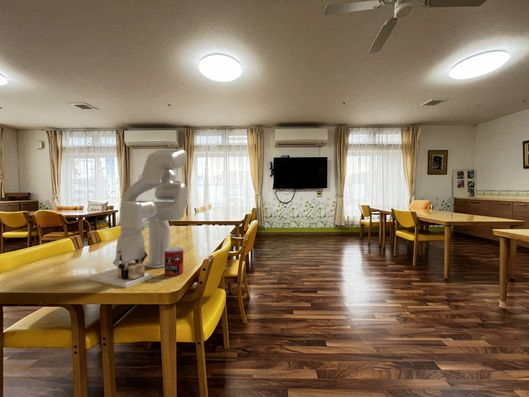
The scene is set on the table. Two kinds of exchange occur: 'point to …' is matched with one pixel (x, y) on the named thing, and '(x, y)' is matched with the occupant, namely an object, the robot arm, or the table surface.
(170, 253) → the canned food
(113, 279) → the board
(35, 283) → the table surface
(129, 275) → the block
